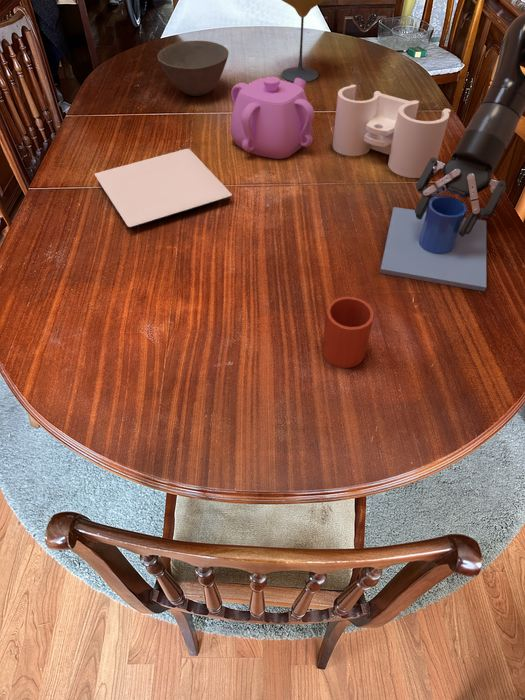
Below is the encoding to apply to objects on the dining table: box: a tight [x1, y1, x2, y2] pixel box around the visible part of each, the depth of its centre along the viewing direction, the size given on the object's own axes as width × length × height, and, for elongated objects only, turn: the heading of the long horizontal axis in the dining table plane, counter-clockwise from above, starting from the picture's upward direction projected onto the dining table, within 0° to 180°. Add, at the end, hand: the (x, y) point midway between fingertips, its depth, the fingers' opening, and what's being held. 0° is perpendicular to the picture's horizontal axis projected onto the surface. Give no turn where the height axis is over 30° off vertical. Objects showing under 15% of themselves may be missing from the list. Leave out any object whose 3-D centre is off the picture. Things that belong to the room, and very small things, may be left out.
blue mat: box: [379, 206, 487, 292], centre depth 95 cm, size 18×20×1 cm
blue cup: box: [419, 195, 468, 254], centre depth 91 cm, size 6×6×8 cm
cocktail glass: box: [281, 0, 327, 83], centre depth 139 cm, size 18×18×25 cm
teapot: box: [230, 75, 315, 160], centre depth 118 cm, size 19×21×14 cm
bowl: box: [157, 40, 230, 97], centre depth 137 cm, size 19×19×10 cm
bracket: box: [332, 84, 452, 179], centre depth 113 cm, size 25×10×12 cm, turn 54°
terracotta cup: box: [321, 296, 375, 369], centre depth 75 cm, size 7×7×8 cm
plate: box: [94, 148, 233, 228], centre depth 107 cm, size 22×22×2 cm
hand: (439, 226), depth 90 cm, fingers open, 8 cm apart
